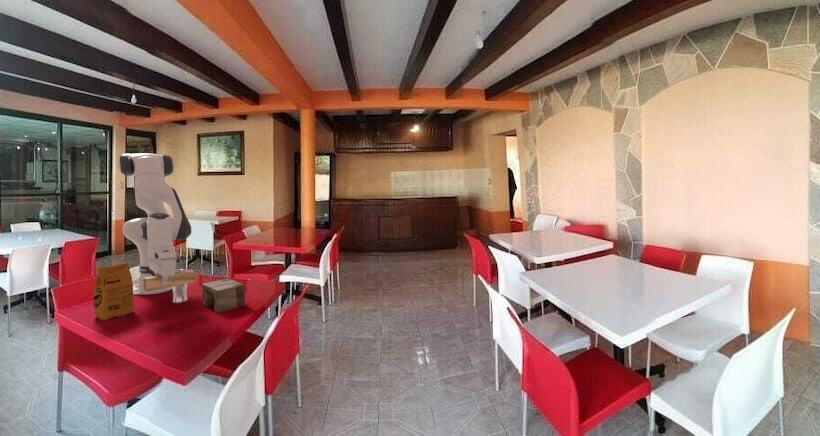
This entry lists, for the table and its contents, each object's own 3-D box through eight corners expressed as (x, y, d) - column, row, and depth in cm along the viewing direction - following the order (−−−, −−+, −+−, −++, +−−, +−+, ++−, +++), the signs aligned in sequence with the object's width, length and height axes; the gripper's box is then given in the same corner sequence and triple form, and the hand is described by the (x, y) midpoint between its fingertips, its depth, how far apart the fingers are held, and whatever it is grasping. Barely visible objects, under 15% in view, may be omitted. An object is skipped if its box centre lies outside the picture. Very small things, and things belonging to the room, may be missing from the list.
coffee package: (92, 316, 144) (88, 266, 142) (128, 307, 155) (125, 260, 153) (100, 322, 139) (96, 269, 137) (137, 312, 150) (134, 263, 147)
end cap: (202, 304, 161) (202, 283, 160) (228, 297, 171) (228, 278, 170) (218, 312, 152) (217, 290, 151) (245, 305, 161) (244, 284, 160)
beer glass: (180, 304, 161) (178, 273, 159) (167, 302, 162) (166, 272, 161) (192, 299, 168) (190, 269, 166) (180, 298, 169) (178, 268, 167)
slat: (143, 289, 143) (143, 277, 143) (191, 280, 158) (190, 269, 157) (147, 291, 141) (146, 279, 140) (194, 281, 155) (194, 271, 155)
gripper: (143, 248, 149) (145, 279, 150) (160, 256, 137) (161, 289, 138) (160, 247, 154) (161, 276, 155) (178, 254, 142) (179, 286, 143)
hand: (162, 283), depth 146 cm, fingers closed on slat, 4 cm apart
